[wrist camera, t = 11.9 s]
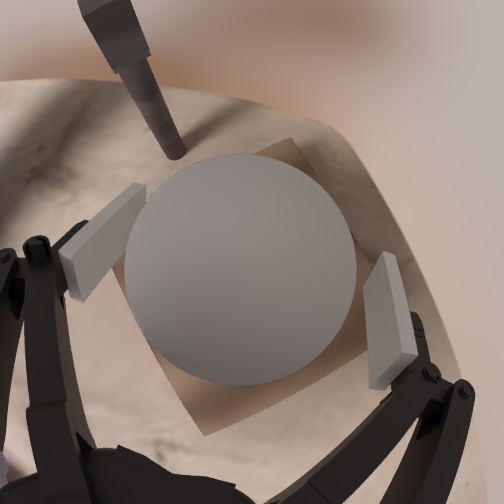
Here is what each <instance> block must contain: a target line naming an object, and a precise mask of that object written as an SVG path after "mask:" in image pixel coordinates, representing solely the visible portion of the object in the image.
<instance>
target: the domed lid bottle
mask: <svg viewBox="0 0 504 504" xmlns="http://www.w3.org/2000/svg"><path fill="white" fill-rule="evenodd" d="M356 271H357V265H356V254H355V248H354V244H353V239H352V236H351V233H350V230H349V227H348V225H347V222H346V220H345V218H344V216H343V215H342V213H341V211H340V209H339V208H338V206H337V205H336V203H335V202H334V200H333V199H332V198H331V196H330V195H329V194H328V193H327V192H326V191H325V190H324V189H323V188H322V187H321V186H320V185H319V184H318V183H317V182H316V181H314V180H313V179H312V178H311V177H309V176H308V175H306V174H305V173H303V172H302V171H300V170H299V169H297V168H295V167H293V166H291V165H289V164H286V163H284V162H281V161H278V160H275V159H272V158H269V157H263V156H258V155H248V154H234V155H224V156H218V157H213V158H209V159H206V160H203V161H200V162H197V163H195V164H193V165H191V166H189V167H187V168H185V169H183V170H181V171H180V172H178V173H177V174H175V175H173V176H172V177H171V178H170V179H168V180H167V181H166V182H165V183H163V184H162V185H161V186H160V187H159V188H158V189H157V190H156V191H155V192H154V194H153V195H152V196H151V197H150V198H149V200H148V201H147V202H146V204H145V205H144V206H143V208H142V210H141V211H140V213H139V215H138V217H137V219H136V220H135V223H134V225H133V228H132V230H131V233H130V236H129V240H128V244H127V248H126V255H125V263H124V277H125V286H126V293H127V297H128V300H129V304H130V308H131V310H132V312H133V315H134V317H135V320H136V322H137V324H138V325H139V327H140V329H141V330H142V332H143V334H144V335H145V337H146V338H147V339H148V341H149V342H150V343H151V344H152V346H153V347H154V348H155V349H156V350H157V351H158V352H159V353H160V354H161V355H162V356H163V357H164V358H166V359H167V360H168V361H170V362H171V363H172V364H174V365H175V366H176V367H178V368H180V369H181V370H183V371H185V372H187V373H189V374H190V375H193V376H195V377H198V378H201V379H203V380H206V381H210V382H214V383H219V384H226V385H236V386H238V385H255V384H261V383H267V382H270V381H274V380H277V379H280V378H283V377H285V376H287V375H289V374H291V373H293V372H296V371H298V370H299V369H301V368H302V367H304V366H305V365H307V364H308V363H310V362H311V361H312V360H313V359H315V358H316V357H317V356H318V355H319V354H320V353H321V352H323V350H324V349H325V348H326V347H327V346H328V345H329V344H330V343H331V341H332V340H333V339H334V337H335V336H336V334H337V333H338V331H339V330H340V328H341V327H342V325H343V323H344V321H345V319H346V316H347V314H348V312H349V309H350V306H351V303H352V300H353V296H354V291H355V285H356Z"/></svg>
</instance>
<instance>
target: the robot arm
mask: <svg viewBox="0 0 504 504" xmlns="http://www.w3.org/2000/svg"><path fill="white" fill-rule="evenodd" d="M145 204H146V185H142V184H138V183H133V184H132V185H131V186H130V187H128V188H127V189H126V190H125V191H124V192H122V193H121V194H120V195H119V196H118V197H116V198H115V199H114V200H113V201H112V202H111V203H109V204H108V205H107V206H106V207H105V208H104V209H102V210H101V211H100V212H99V213H98V214H97V215H96V216H95V217H93V218H92V219H91V220H90V221H88V220H84V221H81V222H79V223H77V224H76V225H75V226H74V227H72V228H71V229H70V231H68V232H67V233H66V234H65V236H63V237H62V238H61V239H59V240H58V241H57V242H56V243H55V244H54V245H53V246H52V247H50V242H49V239H48V238H47V237H46V236H42V235H38V236H34V237H31V238H29V239H28V240H27V241H26V242H25V243H24V244H23V247H22V248H23V251H24V254H25V258H19V257H17V254H16V252H15V250H14V249H13V248H5V249H2V250H0V504H256V503H255V502H254V501H253V500H252V499H250V498H249V497H248V496H247V495H245V494H244V493H242V492H241V491H239V490H237V489H235V486H236V484H233V483H229V482H225V481H221V480H217V479H214V478H210V477H206V476H191V475H179V474H173V473H171V472H169V471H167V470H166V469H164V468H163V467H161V466H160V465H158V464H157V463H155V462H154V461H152V460H151V459H149V458H148V457H146V456H144V455H142V454H139V453H137V452H134V451H132V450H130V449H127V448H125V447H123V446H120V445H118V446H117V448H116V449H114V448H98V449H97V447H96V444H95V441H94V439H93V437H92V435H91V432H90V430H89V428H88V424H87V421H86V417H85V413H84V409H83V405H82V401H81V397H80V393H79V388H78V383H77V379H76V374H75V368H74V363H73V357H72V351H71V345H70V338H69V331H68V323H67V315H66V305H65V298H64V293H65V292H66V290H67V289H68V291H69V294H70V298H72V299H75V300H77V301H79V302H81V303H84V301H85V300H86V299H87V297H88V296H89V295H90V294H91V292H92V291H93V290H94V288H95V287H96V286H97V285H98V283H99V282H100V281H101V280H102V278H103V277H104V276H105V275H106V273H107V272H108V271H109V270H110V268H111V267H112V266H113V265H114V263H115V262H116V261H117V260H118V259H119V257H120V256H121V255H122V254H123V253H124V252H125V250H126V248H127V244H128V240H129V236H130V233H131V230H132V228H133V225H134V223H135V220H136V219H137V217H138V215H139V213H140V211H141V210H142V208H143V206H144V205H145ZM363 297H364V307H365V318H366V331H367V347H368V367H369V388H371V389H377V390H385V389H386V388H387V387H388V386H389V385H390V384H391V390H392V391H391V392H390V393H389V394H388V395H387V396H386V397H385V398H384V399H383V400H382V401H381V402H380V404H379V405H378V406H377V407H376V408H375V409H374V411H373V412H372V413H371V414H370V415H369V416H368V417H367V418H366V419H365V420H364V421H363V422H362V423H361V424H360V425H359V426H358V427H357V428H356V429H355V430H354V431H353V432H352V433H351V434H350V435H349V436H348V437H347V438H346V439H344V440H343V441H342V442H341V443H340V444H339V445H338V446H337V447H336V448H335V449H334V450H333V451H331V452H330V453H329V454H328V455H327V456H326V457H325V458H323V459H322V460H321V461H320V462H319V463H318V464H316V465H315V466H314V467H313V468H312V469H310V470H309V471H308V472H307V473H306V474H304V475H303V476H302V477H301V478H299V479H298V480H297V481H296V482H294V483H293V484H292V485H290V486H289V487H288V488H286V489H285V490H284V491H282V492H281V493H279V494H277V495H276V496H274V497H273V498H271V499H270V500H268V501H267V502H265V503H264V504H342V503H343V502H344V501H345V500H346V499H348V498H349V497H350V496H351V495H352V494H353V493H354V492H355V491H356V490H357V489H358V488H359V487H360V486H361V484H362V483H363V482H364V481H365V480H366V479H367V478H368V477H369V476H370V475H371V474H372V473H373V472H374V471H375V469H376V468H377V467H378V466H379V465H380V464H381V463H382V462H383V460H384V459H385V458H386V457H387V456H388V455H389V453H390V452H391V451H392V450H393V449H394V447H395V446H396V445H397V444H398V442H399V441H400V440H401V439H402V437H403V436H404V435H405V433H406V432H407V431H408V429H409V428H410V427H411V425H412V424H413V423H414V421H415V420H416V419H417V417H418V418H419V419H418V422H417V425H416V427H415V430H414V432H413V435H412V437H411V440H410V442H409V444H408V447H407V449H406V451H405V454H404V456H403V458H402V460H401V462H400V465H399V467H398V469H397V471H396V473H395V475H394V477H393V479H392V481H391V483H390V485H389V487H388V489H387V491H386V493H385V494H384V496H383V498H382V500H381V502H380V504H446V501H447V499H448V496H449V494H450V491H451V488H452V485H453V482H454V479H455V476H456V473H457V470H458V467H459V464H460V460H461V457H462V454H463V450H464V446H465V442H466V439H467V435H468V430H469V426H470V422H471V417H472V412H473V406H474V401H475V391H474V388H473V387H472V386H471V384H470V383H469V382H468V381H466V380H464V379H459V380H458V381H457V382H455V383H454V384H452V383H450V382H448V381H446V380H444V379H442V378H441V373H440V371H439V369H438V368H437V366H436V365H434V364H433V363H431V361H430V356H429V351H428V346H427V342H426V339H425V333H424V328H423V324H422V321H421V319H420V318H419V316H418V314H417V313H415V312H411V311H409V307H408V303H407V299H406V294H405V290H404V286H403V282H402V279H401V275H400V271H399V267H398V264H397V260H396V257H395V255H394V254H391V253H388V252H385V251H382V253H381V255H380V257H379V259H378V261H377V263H376V265H375V266H374V268H373V270H372V272H371V274H370V276H369V278H368V279H367V281H366V283H365V285H364V287H363ZM23 321H24V337H25V359H26V372H27V383H28V392H29V400H30V406H29V407H28V408H27V409H26V420H27V426H28V432H29V437H30V442H31V447H32V452H33V456H34V460H35V464H36V468H37V473H34V474H32V475H29V476H26V477H24V478H21V479H18V480H15V481H13V482H10V483H8V481H7V478H6V474H7V473H8V470H9V469H8V465H7V463H6V460H5V457H4V455H3V453H2V452H3V447H4V442H5V435H6V425H7V413H8V403H9V395H10V388H11V381H12V374H13V369H14V363H15V358H16V352H17V348H18V343H19V338H20V334H21V330H22V325H23Z"/></svg>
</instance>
